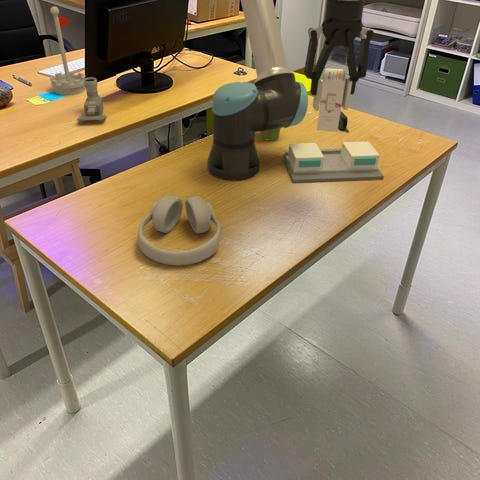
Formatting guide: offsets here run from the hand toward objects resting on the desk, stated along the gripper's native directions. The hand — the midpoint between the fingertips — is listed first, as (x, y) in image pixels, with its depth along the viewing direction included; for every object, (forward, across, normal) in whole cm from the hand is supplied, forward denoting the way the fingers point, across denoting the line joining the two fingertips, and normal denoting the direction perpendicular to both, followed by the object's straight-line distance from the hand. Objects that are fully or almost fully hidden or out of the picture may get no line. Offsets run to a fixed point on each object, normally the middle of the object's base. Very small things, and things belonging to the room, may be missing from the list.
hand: (329, 108), depth 108 cm
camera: (+25, -64, +60) cm, 91 cm away
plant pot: (+25, -6, +39) cm, 47 cm away
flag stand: (+25, -77, +87) cm, 119 cm away
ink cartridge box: (+4, 0, 0) cm, 4 cm away
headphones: (+25, -36, -15) cm, 46 cm away
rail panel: (+25, +8, +17) cm, 31 cm away
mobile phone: (+25, +19, +48) cm, 58 cm away
